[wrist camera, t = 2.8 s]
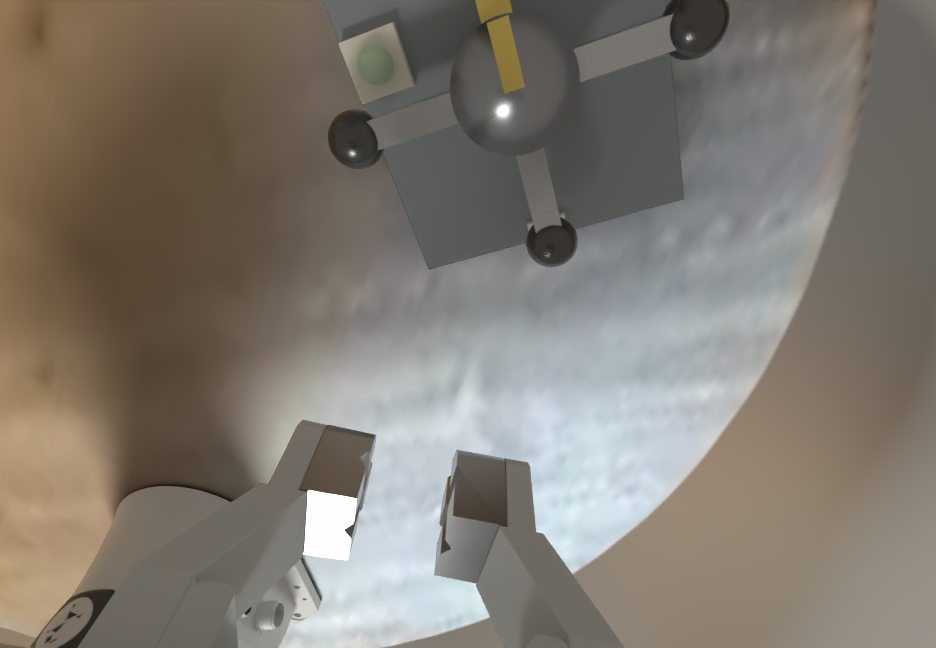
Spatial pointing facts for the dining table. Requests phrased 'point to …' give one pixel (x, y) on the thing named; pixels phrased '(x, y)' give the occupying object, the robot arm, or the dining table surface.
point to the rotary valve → (498, 176)
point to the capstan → (527, 96)
